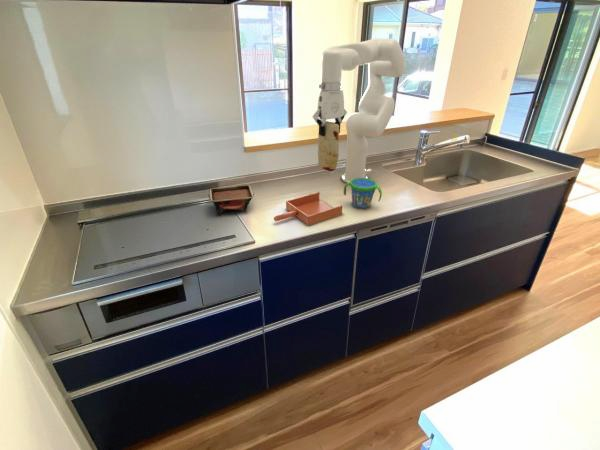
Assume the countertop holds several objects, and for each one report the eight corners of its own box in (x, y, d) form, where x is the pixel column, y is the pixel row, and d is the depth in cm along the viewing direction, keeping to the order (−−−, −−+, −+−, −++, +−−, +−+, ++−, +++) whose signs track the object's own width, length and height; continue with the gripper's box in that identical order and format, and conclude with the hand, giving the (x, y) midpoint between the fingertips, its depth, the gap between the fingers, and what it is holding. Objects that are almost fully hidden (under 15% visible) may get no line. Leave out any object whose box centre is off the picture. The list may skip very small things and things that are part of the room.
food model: (314, 169, 146) (314, 121, 136) (323, 164, 151) (324, 118, 141) (333, 174, 141) (335, 125, 131) (342, 169, 145) (344, 121, 135)
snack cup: (383, 204, 145) (386, 181, 140) (375, 214, 137) (377, 191, 132) (348, 196, 152) (350, 174, 147) (339, 206, 144) (340, 183, 139)
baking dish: (252, 218, 139) (254, 195, 135) (207, 216, 135) (207, 192, 131) (250, 205, 152) (252, 183, 148) (209, 202, 148) (209, 180, 144)
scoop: (318, 199, 149) (318, 191, 147) (342, 214, 138) (342, 205, 136) (264, 216, 137) (263, 207, 135) (285, 233, 125) (284, 224, 123)
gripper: (318, 90, 123) (317, 139, 132) (355, 86, 131) (352, 133, 140) (306, 87, 128) (306, 135, 137) (343, 83, 136) (340, 129, 145)
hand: (329, 133), depth 138 cm, fingers closed on food model, 6 cm apart
